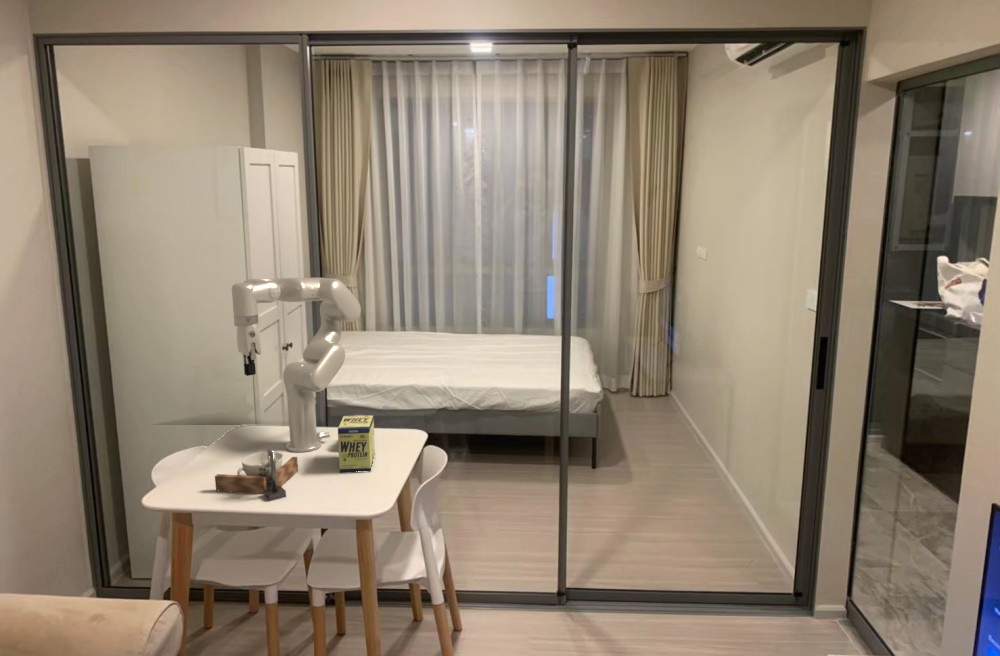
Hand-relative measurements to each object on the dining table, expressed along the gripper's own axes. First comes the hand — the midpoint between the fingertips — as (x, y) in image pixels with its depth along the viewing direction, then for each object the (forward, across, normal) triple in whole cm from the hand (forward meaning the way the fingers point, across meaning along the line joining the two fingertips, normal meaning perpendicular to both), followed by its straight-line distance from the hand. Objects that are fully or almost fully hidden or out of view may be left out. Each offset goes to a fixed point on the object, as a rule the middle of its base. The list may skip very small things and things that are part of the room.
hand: (250, 374), depth 237 cm
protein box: (+32, -20, -28) cm, 47 cm away
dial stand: (+32, -28, +4) cm, 43 cm away
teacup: (+32, -15, +4) cm, 36 cm away
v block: (+32, -19, +4) cm, 37 cm away
